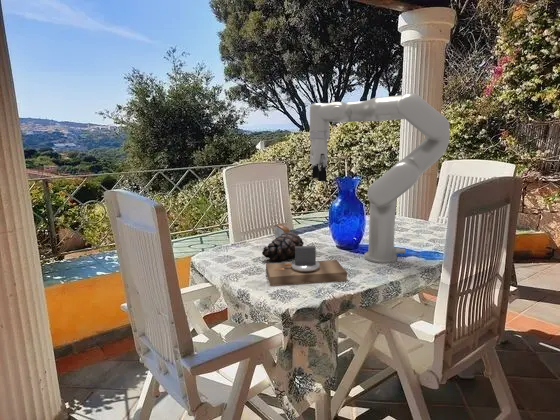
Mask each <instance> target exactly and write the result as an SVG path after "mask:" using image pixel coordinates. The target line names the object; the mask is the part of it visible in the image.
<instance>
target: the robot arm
mask: <svg viewBox="0 0 560 420" xmlns="http://www.w3.org/2000/svg"><path fill="white" fill-rule="evenodd" d="M396 120H397V121H398V120H406V121H407V122H408V123H409V124H410V125H411V126H413V128H415V129H416V130H418V131H419V133H421V134H423V136H424V138H423V139H424V140H423V141H421V143H420V144H419V145H418V146H417V147H415V148H414V149H413V150H412V151H410V152H409V154H407V155H406V156H404V157H403V158H402V159H401V160H399V161H397V162H396V163H395V164H394V165H393V166H392V167H391V168H390V169H389V170H387V171H386V172H385V173H384V174H382V175H381V176H380V177H379V178H377V179H375V180H374V181H373V182H372V184H371V185H369V187H368V190H367V199H368V201H369V220H368V221H369V224H368V251H367V252H364V254H363V258H364V259H365V260H367V261H369V262H372V263H379V264H389V263H394V262H396V261H397V260H398V254H406V252H407V251H406V248H405V247H404V248H400V247H398V246H397V247H395V246H394V245H395V226H396V225H395V224H396V209H397V208H396V207H397V200H398V199H399V198H400V197H401V196H402V195H404V194H405V193H407V191H408V190H410V189H411V188H412V187H413V186H414V185H415V184H416V183H417V182H418V180H419V178H420V177H421V175H422V174H424V173H425V172H426V171H427V170H428V169H430V168H431V167H432V166H433V165H434V164H435V163H437V162H438V161H439V160H440V159H441V157H442V156H443V155H444V154H445V152H446V150H447V149H448V146H449V143H450V139H451V138H450V137H451V135H450V132H451V131H450V129H451V128H450V127H451V126H450V122H449V120H448V119H447V117H445V116H444V115H443V114H442V113H440V112H439V111H438V110H437V109H435V108H434V107H433V106H432V105H430V104H429V103H428V102H427V101H426V100H425V99H424V98H422V97H421V96H420V95H419V94H417V93H413V92H409V93H406V94H401V95H391V96H378V97H373V98H371V99H367V100H363V101H353V102H352V101H350V102H342V101H334V102H327V103H326V102H316V103H314V102H313V103H311V104H310V106H309V140H310V150H309V151H310V153H309V154H310V155H309V163H310V164H311V165H312V166H311V167H312V169H311V173H312V174H311V176H312V177H311V178H312V179H317V180H318V182H326V181H327V176H328V174H327V165H328V155H329V154H328V140H330V122H332V123H351V122H352V123H354V122H381V121H382V122H383V121H396Z"/></svg>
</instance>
